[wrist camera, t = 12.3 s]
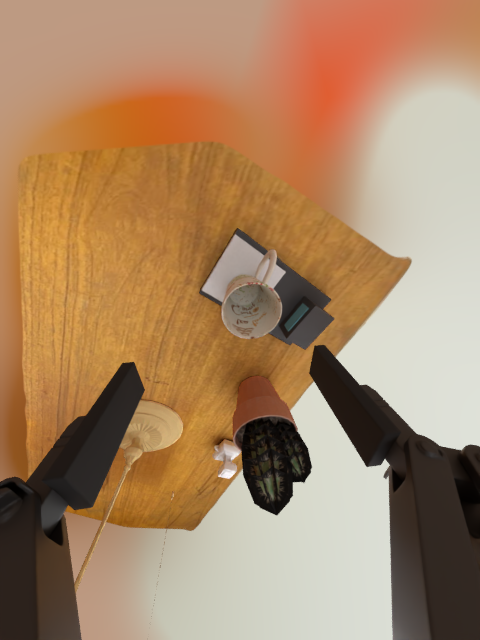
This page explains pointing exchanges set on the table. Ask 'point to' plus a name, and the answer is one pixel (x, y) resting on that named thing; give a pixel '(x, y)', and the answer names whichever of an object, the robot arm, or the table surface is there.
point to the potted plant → (268, 445)
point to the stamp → (226, 458)
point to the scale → (294, 291)
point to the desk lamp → (141, 448)
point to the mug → (252, 303)
